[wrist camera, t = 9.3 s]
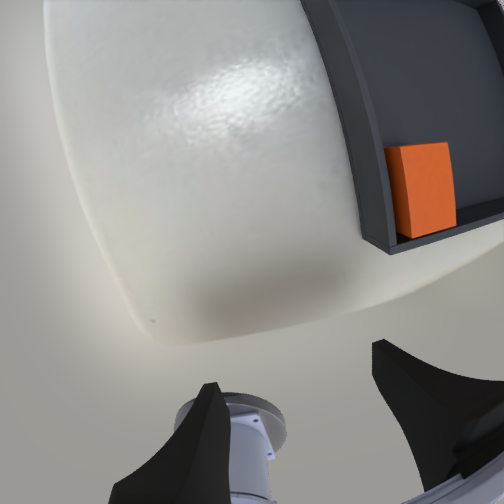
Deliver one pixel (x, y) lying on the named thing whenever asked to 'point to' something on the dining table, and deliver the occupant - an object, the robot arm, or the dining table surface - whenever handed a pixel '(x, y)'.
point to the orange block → (421, 187)
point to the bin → (417, 100)
